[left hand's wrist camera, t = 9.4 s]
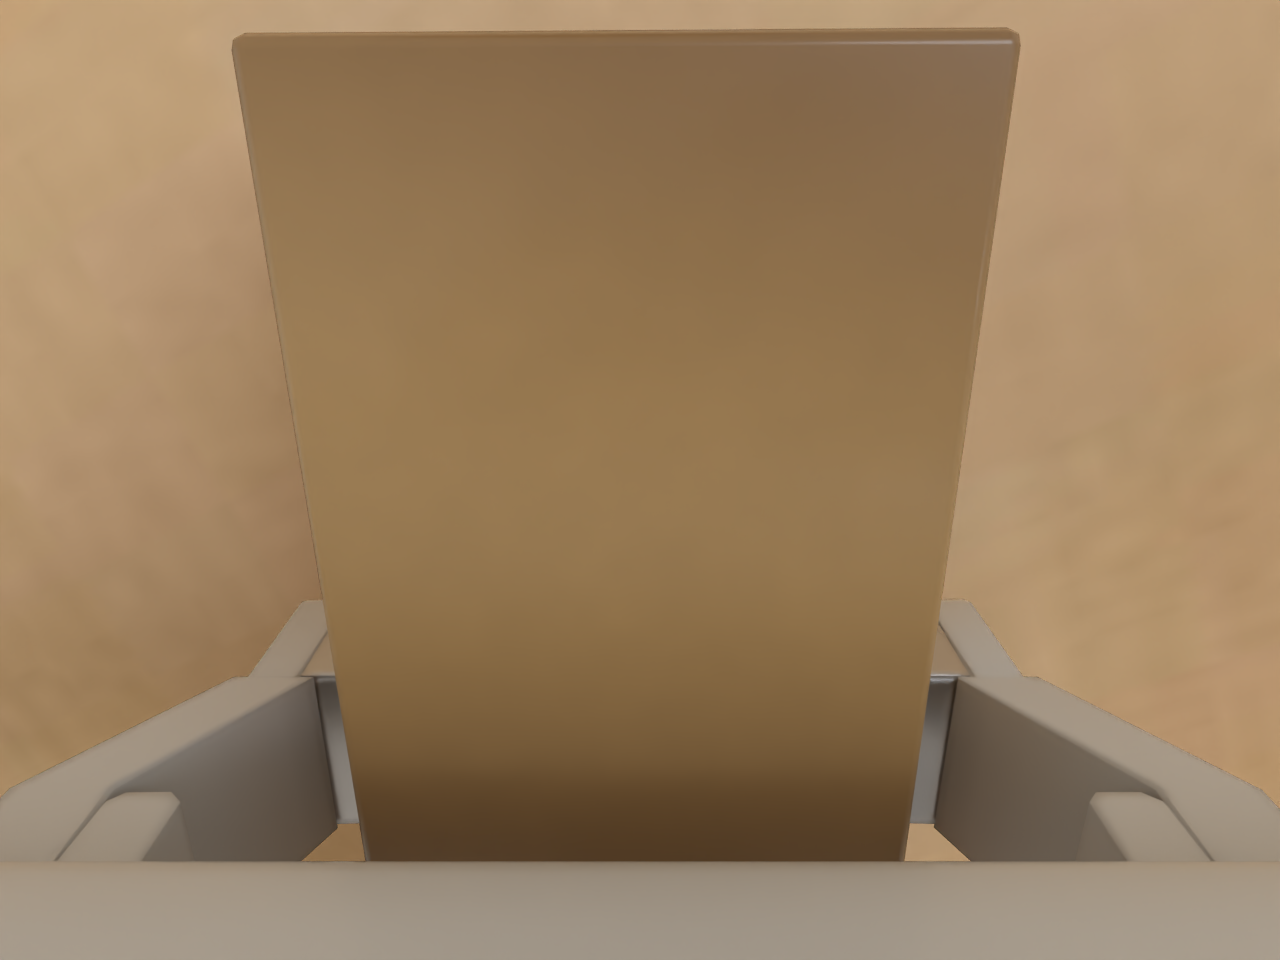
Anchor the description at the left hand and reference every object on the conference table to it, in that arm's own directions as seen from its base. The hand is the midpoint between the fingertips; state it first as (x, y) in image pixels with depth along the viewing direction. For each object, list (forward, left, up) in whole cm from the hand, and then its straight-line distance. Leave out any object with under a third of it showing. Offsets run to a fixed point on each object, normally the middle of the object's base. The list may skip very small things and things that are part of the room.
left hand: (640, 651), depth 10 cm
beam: (-13, +14, -3) cm, 19 cm away
